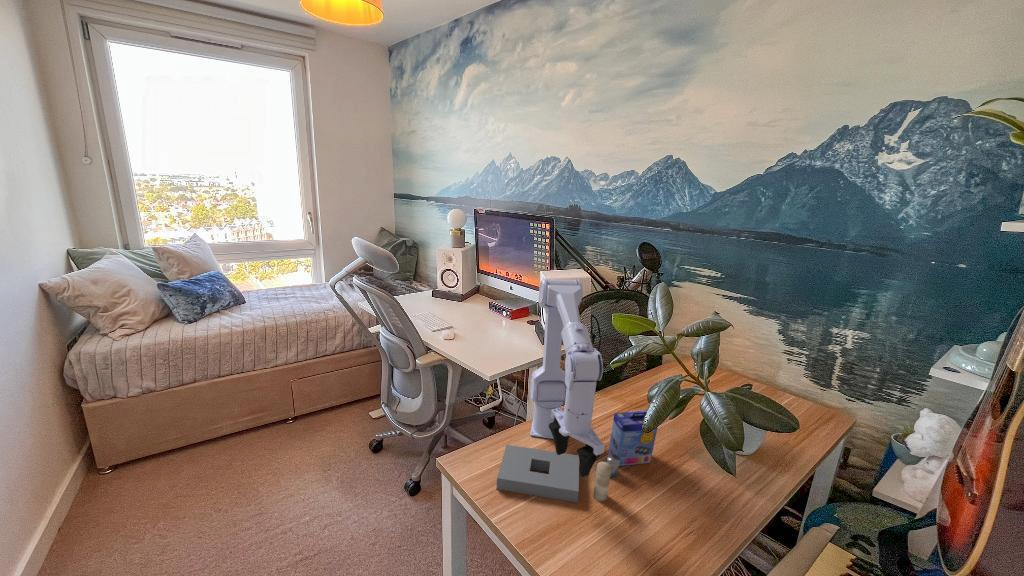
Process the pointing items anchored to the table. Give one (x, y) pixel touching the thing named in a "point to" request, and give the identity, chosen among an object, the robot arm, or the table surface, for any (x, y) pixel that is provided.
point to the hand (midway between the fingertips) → (572, 463)
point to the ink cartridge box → (631, 438)
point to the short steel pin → (613, 465)
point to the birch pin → (602, 481)
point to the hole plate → (553, 485)
